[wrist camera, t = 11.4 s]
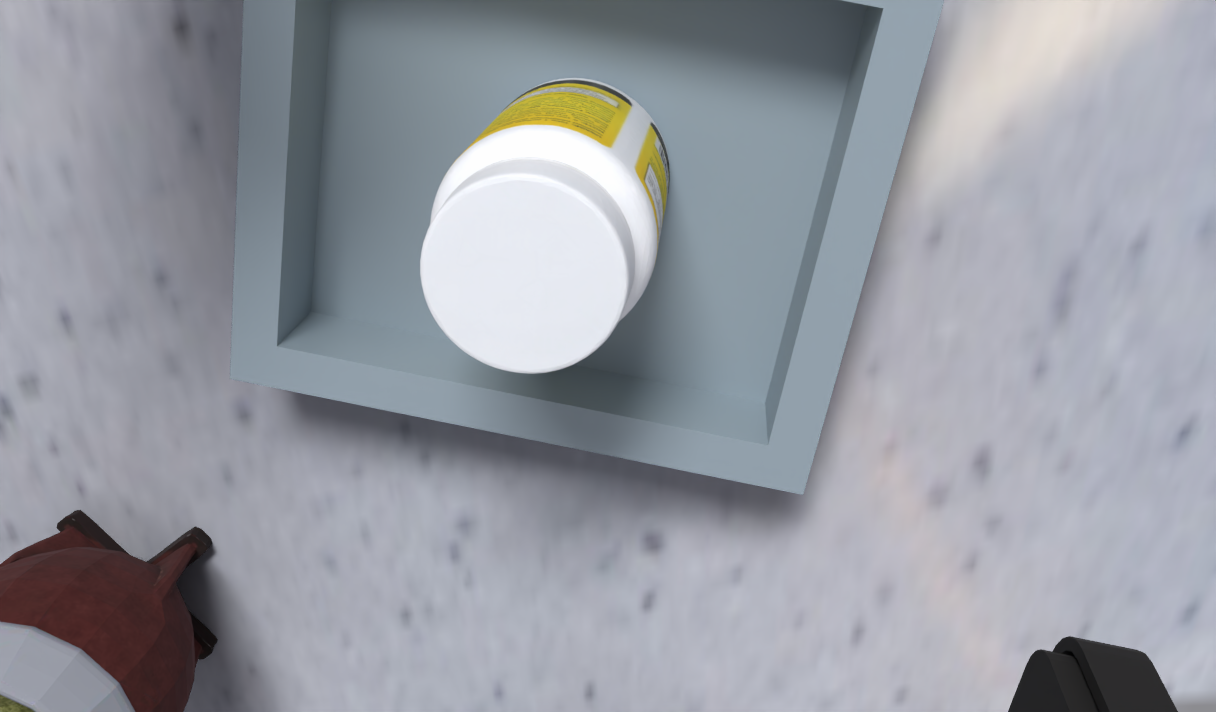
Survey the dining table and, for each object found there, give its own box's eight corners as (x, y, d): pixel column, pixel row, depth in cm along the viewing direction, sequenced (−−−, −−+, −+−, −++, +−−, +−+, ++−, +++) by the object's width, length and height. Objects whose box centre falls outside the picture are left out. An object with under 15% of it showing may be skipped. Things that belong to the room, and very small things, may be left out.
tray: (931, -48, 26) (955, -40, 23) (796, 440, 31) (803, 495, 28) (299, -168, 26) (249, -174, 23) (273, 335, 32) (229, 378, 29)
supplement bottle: (449, 161, 28) (345, 263, 21) (581, 34, 27) (521, 93, 19) (577, 294, 30) (521, 437, 22) (710, 179, 28) (702, 290, 20)
